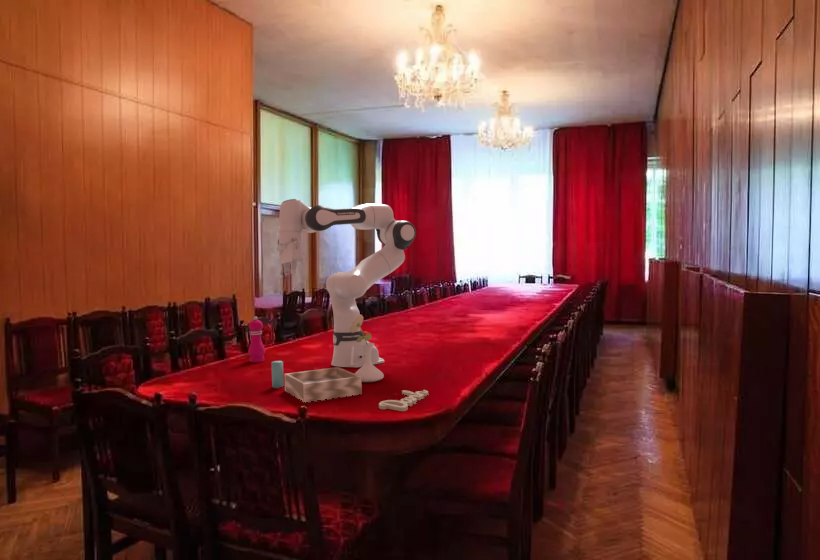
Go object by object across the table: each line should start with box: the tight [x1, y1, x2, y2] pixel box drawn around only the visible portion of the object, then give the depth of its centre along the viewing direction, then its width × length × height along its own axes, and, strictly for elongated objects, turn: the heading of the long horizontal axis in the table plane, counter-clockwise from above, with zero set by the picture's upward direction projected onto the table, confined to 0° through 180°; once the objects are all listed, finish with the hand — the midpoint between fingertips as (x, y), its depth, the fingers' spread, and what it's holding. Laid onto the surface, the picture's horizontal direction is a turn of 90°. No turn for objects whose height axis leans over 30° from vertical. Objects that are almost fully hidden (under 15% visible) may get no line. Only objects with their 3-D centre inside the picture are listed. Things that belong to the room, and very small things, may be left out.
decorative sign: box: [378, 389, 429, 412], centre depth 195 cm, size 23×2×10 cm
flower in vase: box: [349, 314, 385, 383], centre depth 224 cm, size 13×11×25 cm
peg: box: [271, 360, 285, 389], centre depth 219 cm, size 4×4×9 cm
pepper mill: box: [248, 315, 266, 363], centre depth 272 cm, size 7×7×20 cm
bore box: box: [284, 366, 363, 404], centre depth 209 cm, size 20×20×6 cm
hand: (290, 274), depth 244 cm, fingers open, 8 cm apart
